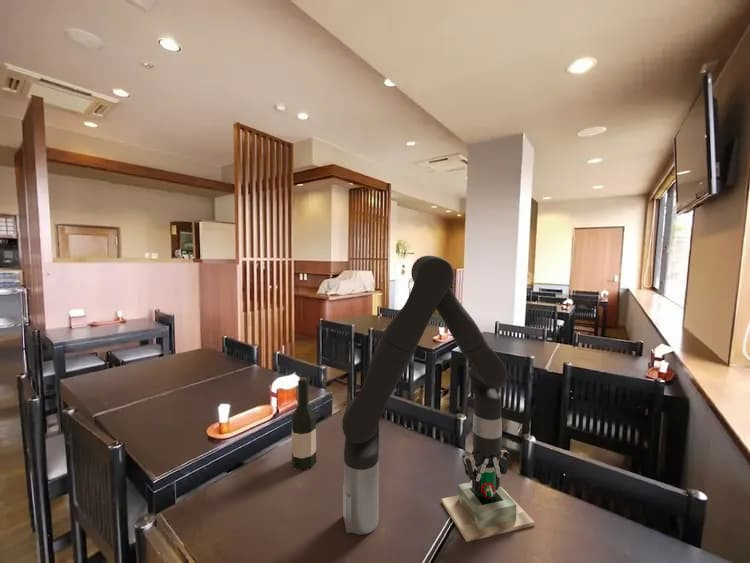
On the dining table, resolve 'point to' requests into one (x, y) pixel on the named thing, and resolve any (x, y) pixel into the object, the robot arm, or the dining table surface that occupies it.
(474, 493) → the holder
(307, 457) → the wine bottle
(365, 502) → the robot arm
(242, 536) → the dining table surface
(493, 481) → the soda can
